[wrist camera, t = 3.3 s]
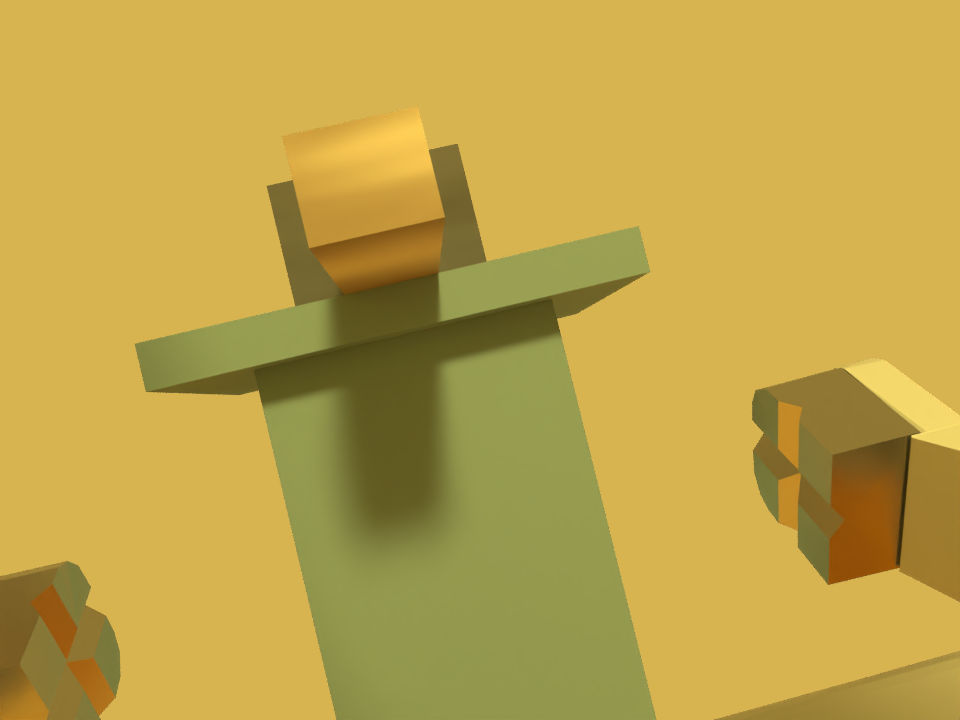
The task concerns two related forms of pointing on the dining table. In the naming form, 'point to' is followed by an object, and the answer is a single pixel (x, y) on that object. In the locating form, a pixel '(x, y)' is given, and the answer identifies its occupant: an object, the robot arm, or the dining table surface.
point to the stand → (442, 486)
